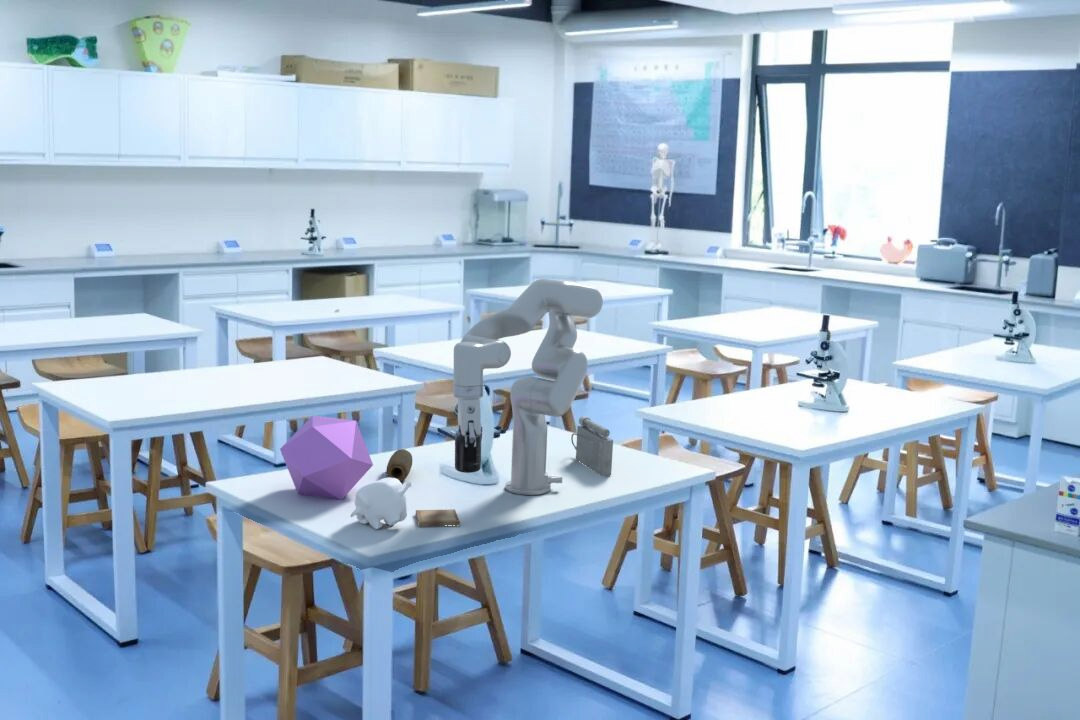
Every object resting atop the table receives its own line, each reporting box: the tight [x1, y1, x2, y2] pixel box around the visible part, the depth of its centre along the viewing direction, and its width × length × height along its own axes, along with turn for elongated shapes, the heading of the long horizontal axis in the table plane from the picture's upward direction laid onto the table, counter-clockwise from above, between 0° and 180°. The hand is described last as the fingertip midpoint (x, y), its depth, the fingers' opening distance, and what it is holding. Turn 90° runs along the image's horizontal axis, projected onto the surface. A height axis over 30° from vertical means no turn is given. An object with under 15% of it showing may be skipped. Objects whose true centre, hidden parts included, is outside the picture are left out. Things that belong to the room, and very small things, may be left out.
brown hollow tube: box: [385, 448, 413, 482], centre depth 326 cm, size 15×7×7 cm, turn 5°
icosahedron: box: [279, 415, 374, 501], centre depth 306 cm, size 22×21×25 cm
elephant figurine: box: [349, 477, 412, 530], centre depth 281 cm, size 12×18×12 cm
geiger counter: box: [570, 415, 614, 477], centre depth 345 cm, size 14×6×25 cm
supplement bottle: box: [454, 425, 482, 474], centre depth 296 cm, size 7×7×12 cm
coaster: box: [415, 508, 461, 528], centre depth 288 cm, size 10×10×1 cm
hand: (468, 457), depth 296 cm, fingers closed on supplement bottle, 6 cm apart
